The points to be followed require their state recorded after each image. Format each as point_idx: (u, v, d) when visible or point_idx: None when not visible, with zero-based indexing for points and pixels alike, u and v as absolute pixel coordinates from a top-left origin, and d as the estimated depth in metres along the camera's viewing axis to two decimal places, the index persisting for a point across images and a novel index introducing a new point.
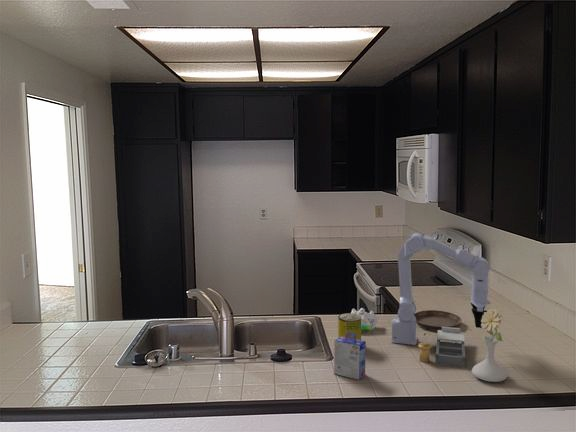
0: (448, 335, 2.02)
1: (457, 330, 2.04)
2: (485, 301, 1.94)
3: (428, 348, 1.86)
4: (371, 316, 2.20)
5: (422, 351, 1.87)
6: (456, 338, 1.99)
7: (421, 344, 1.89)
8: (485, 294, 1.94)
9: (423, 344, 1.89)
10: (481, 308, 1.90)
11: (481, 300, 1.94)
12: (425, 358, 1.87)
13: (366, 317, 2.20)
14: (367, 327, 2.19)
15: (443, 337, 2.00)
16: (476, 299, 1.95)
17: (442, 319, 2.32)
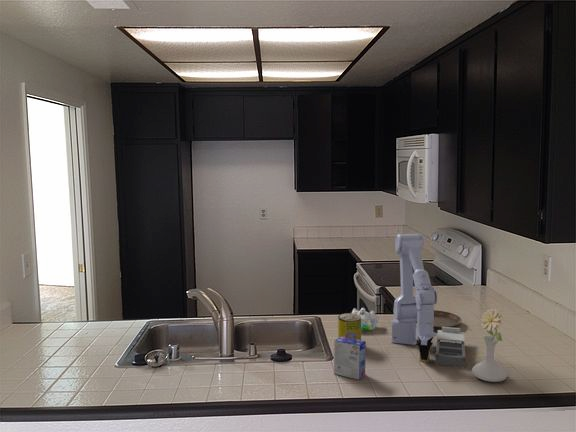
0: (448, 335, 2.02)
1: (457, 330, 2.04)
2: (430, 333, 1.85)
3: None
4: (372, 316, 2.21)
5: None
6: (456, 338, 1.99)
7: None
8: (430, 326, 1.85)
9: None
10: (425, 341, 1.81)
11: (426, 332, 1.85)
12: None
13: (367, 317, 2.21)
14: (368, 327, 2.20)
15: (443, 337, 2.00)
16: (421, 331, 1.85)
17: (442, 319, 2.32)
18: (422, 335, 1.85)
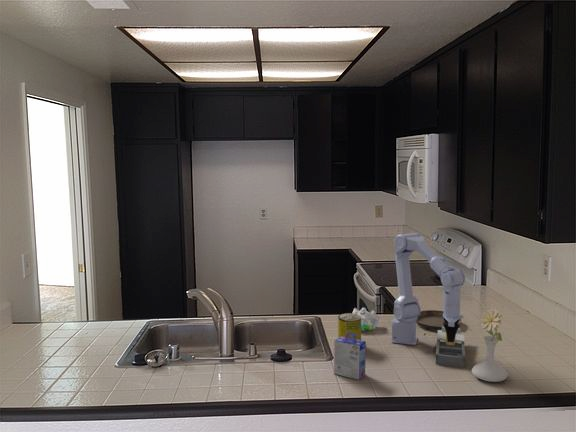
0: None
1: (457, 330, 2.04)
2: (457, 315, 1.83)
3: None
4: (372, 316, 2.21)
5: None
6: (456, 338, 1.99)
7: None
8: (457, 308, 1.83)
9: None
10: (452, 323, 1.79)
11: (453, 314, 1.83)
12: None
13: (367, 316, 2.21)
14: (368, 326, 2.20)
15: (443, 337, 2.00)
16: (447, 313, 1.84)
17: (442, 319, 2.32)
18: (449, 317, 1.83)
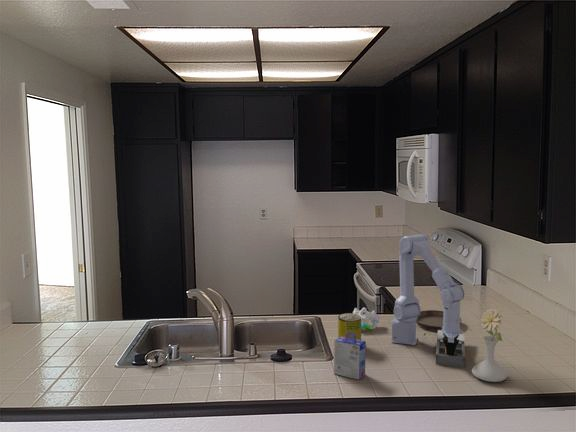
0: None
1: None
2: (457, 331, 1.84)
3: None
4: (373, 315, 2.21)
5: None
6: None
7: None
8: (457, 323, 1.84)
9: None
10: (452, 339, 1.80)
11: (453, 330, 1.84)
12: None
13: (368, 316, 2.21)
14: (369, 326, 2.20)
15: None
16: (447, 329, 1.84)
17: (442, 319, 2.32)
18: (448, 332, 1.84)
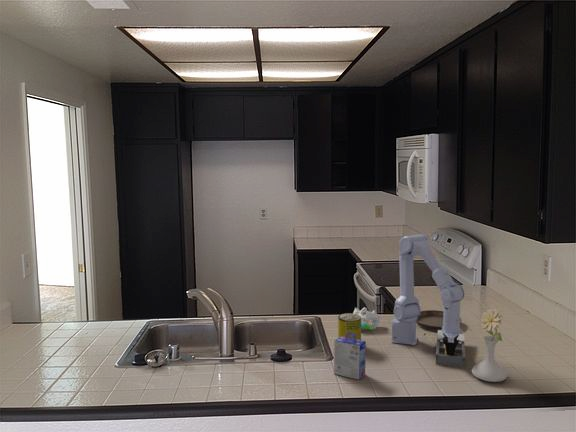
0: None
1: None
2: (457, 331, 1.84)
3: None
4: (373, 315, 2.21)
5: None
6: None
7: None
8: (457, 323, 1.84)
9: None
10: (452, 339, 1.80)
11: (453, 330, 1.84)
12: None
13: (368, 316, 2.21)
14: (369, 326, 2.20)
15: None
16: (447, 329, 1.85)
17: (442, 319, 2.32)
18: (448, 332, 1.84)
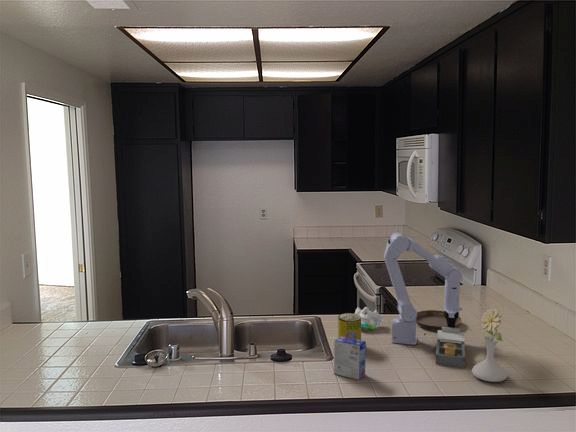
0: (448, 335, 2.02)
1: (457, 330, 2.04)
2: (457, 308, 2.03)
3: (454, 348, 1.86)
4: (375, 315, 2.22)
5: (447, 352, 1.86)
6: (456, 338, 1.98)
7: (446, 344, 1.88)
8: (457, 301, 2.03)
9: (448, 344, 1.88)
10: (452, 314, 1.99)
11: (453, 307, 2.03)
12: None
13: (370, 316, 2.22)
14: (371, 326, 2.21)
15: (443, 337, 2.00)
16: (448, 306, 2.04)
17: (442, 319, 2.32)
18: (449, 309, 2.03)
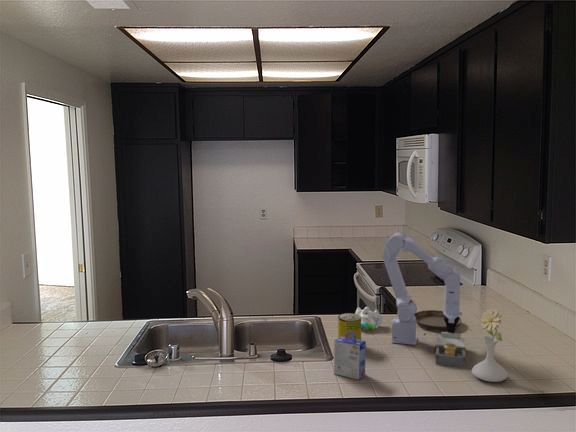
0: (448, 341, 1.96)
1: (457, 335, 1.99)
2: (457, 312, 1.98)
3: (454, 349, 1.86)
4: (375, 315, 2.22)
5: (447, 352, 1.86)
6: (456, 344, 1.93)
7: (446, 345, 1.88)
8: (457, 306, 1.97)
9: (448, 344, 1.88)
10: (452, 320, 1.93)
11: (453, 311, 1.97)
12: None
13: (370, 316, 2.22)
14: (371, 326, 2.21)
15: (443, 343, 1.94)
16: (448, 311, 1.98)
17: (442, 319, 2.32)
18: (449, 314, 1.98)
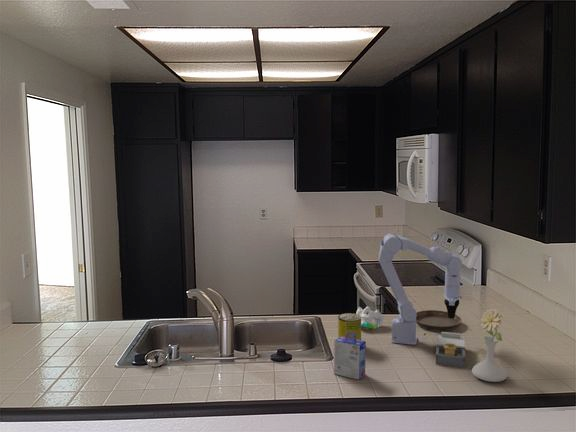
0: (448, 341, 1.96)
1: (457, 335, 1.99)
2: (457, 296, 2.02)
3: (454, 348, 1.86)
4: (376, 315, 2.22)
5: (447, 352, 1.86)
6: (456, 344, 1.93)
7: (446, 344, 1.88)
8: (457, 289, 2.02)
9: (448, 344, 1.88)
10: (453, 302, 1.98)
11: (453, 295, 2.02)
12: None
13: (371, 315, 2.22)
14: (372, 325, 2.21)
15: (443, 343, 1.94)
16: (448, 294, 2.02)
17: (442, 319, 2.32)
18: (449, 297, 2.02)
